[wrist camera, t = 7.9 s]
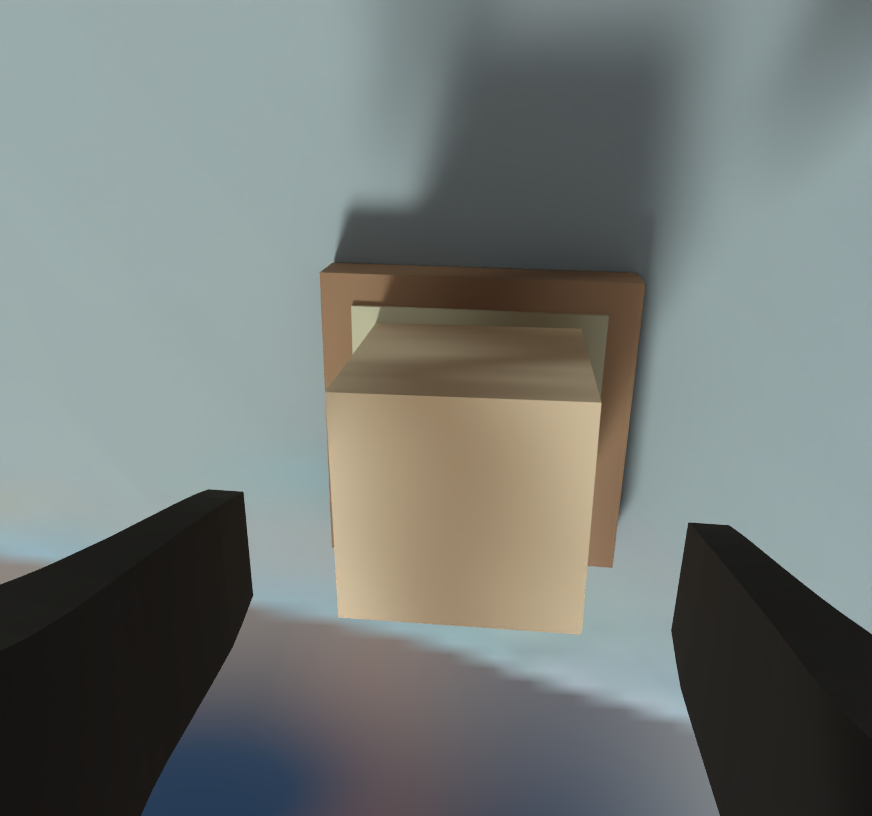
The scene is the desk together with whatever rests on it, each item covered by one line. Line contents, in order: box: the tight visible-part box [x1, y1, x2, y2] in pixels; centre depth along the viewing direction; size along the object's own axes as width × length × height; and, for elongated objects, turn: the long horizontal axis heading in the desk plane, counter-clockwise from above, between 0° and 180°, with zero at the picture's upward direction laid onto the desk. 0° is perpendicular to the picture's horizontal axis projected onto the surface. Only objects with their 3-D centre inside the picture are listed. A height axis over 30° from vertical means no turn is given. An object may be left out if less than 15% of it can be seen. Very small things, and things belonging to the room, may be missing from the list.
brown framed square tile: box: [320, 263, 645, 568], centre depth 18 cm, size 7×7×1 cm
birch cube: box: [325, 323, 601, 635], centre depth 15 cm, size 4×4×4 cm
